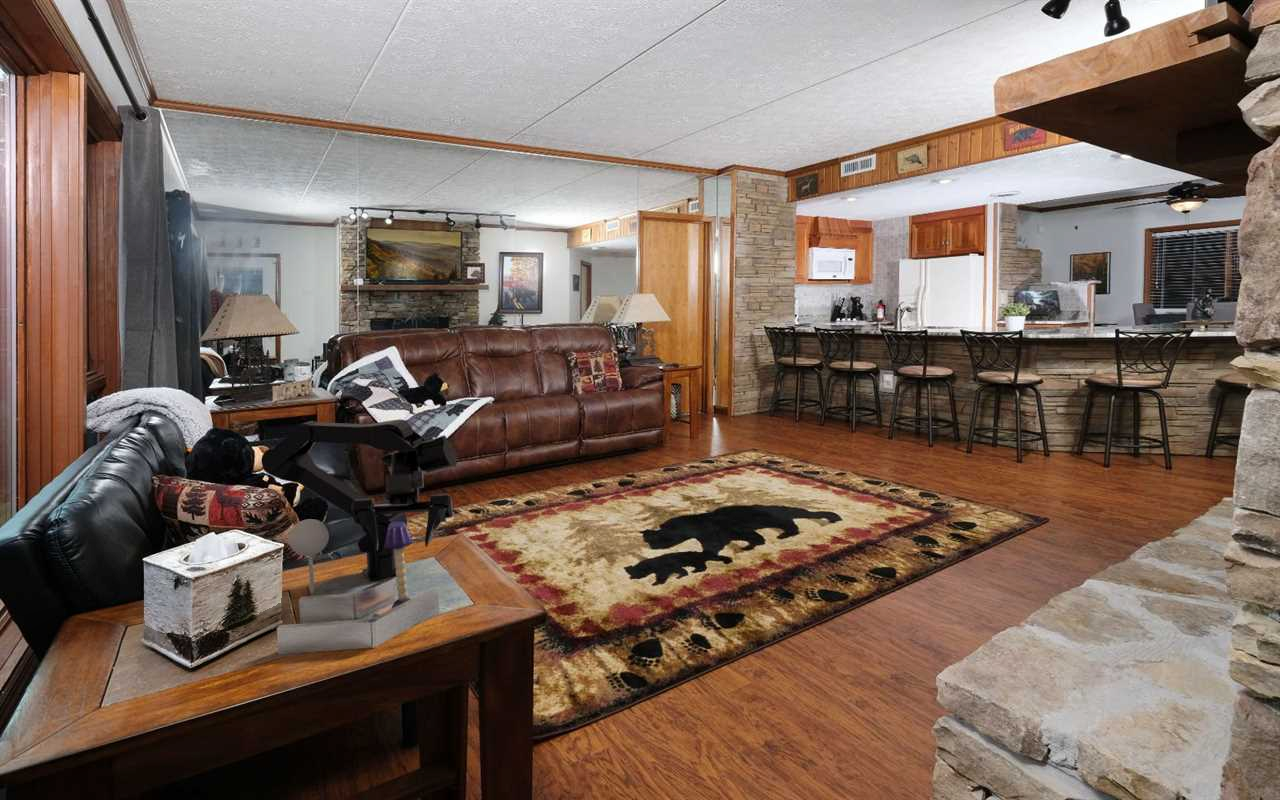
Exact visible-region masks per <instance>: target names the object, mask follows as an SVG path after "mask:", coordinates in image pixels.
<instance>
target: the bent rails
mask: <svg viewBox="0 0 1280 800" xmlns="http://www.w3.org/2000/svg"><path fill="white" fill-rule="evenodd" d="M396 593H397V592H396V578H395V577H394V576H391V577H386V578H384V579H381V581H378V582H376V583H373V584H371V585H369V586H367V587H365V588H362V589H360V590H358V591H356V592H354V593H342V594H327V595H324V594H323V595H310V596H309V595H308V596H300V597H299V599H298V605H299V606H298V607H299V618H300V621H299V622H300V623H294V624H293V623H290V624H279V625H278V626H277V627H276V633H277V634H276V635H277V638H276V639H277V651H278V655H286V654H287V655H288V654H301V653H316V652H331V651H343V650H346V651H347V650H356V649H371V648H372V649H374V648H378V646H380V645H382V644H383V643H385V642H387V641H389V640H390V639H393V638H395V637H396V636H398V635H400V634H401V633H403V632H405V631H407V630H409V629H411V628H413V627H415V626H417V625H419V624H420V623H422V622H424V621H425V620H428V619H429V618H431V617H433V616H435V615H437V614H439V613H440V602H439V601H440V600H439V598H440V597H439V589H438V588H435V587H433V588H431V589H429V590H426V591H424V592H422V593H421V594H419V595H417V596H415V597H413V598H410V600H408V601H406V602H404V603H402V604H400V605H398V606H396V607H394V608H392V609H390V610H388V611H386V612H384V613H382V614H380V615H378V616H376V615H375V616H374V617H373V618H367V619H365V618H364V619H360V618H361V617H364V616H366V615H368V614H370V613H372V612H374V611H376V610H379V609H381V608H382V607H383V608H384V606H387V605H389V604H392V603H393V602H395V601H396V600H397V598H396V597H397V596H396V595H397V594H396Z"/></svg>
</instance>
